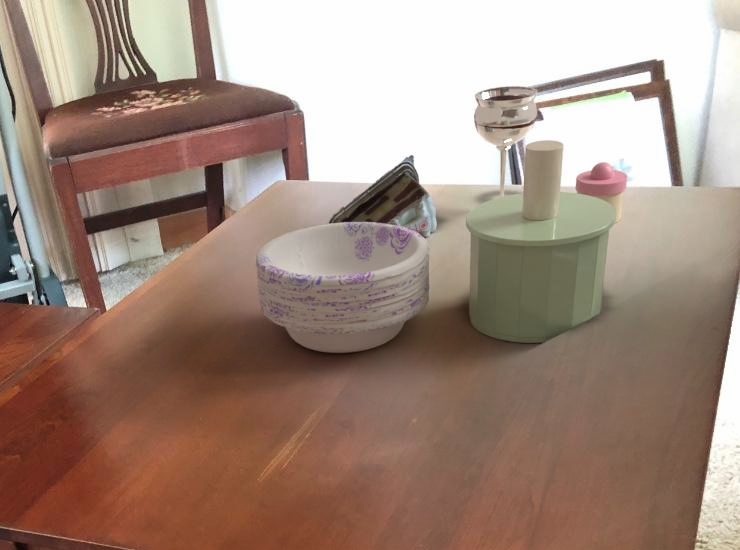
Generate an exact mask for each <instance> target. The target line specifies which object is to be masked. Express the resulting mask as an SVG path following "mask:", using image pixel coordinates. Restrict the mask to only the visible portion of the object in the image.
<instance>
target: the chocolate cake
mask: <svg viewBox="0 0 740 550" xmlns="http://www.w3.org/2000/svg"><path fill="white" fill-rule="evenodd" d="M414 162H415V157H414V155H413V154H411V155H409V156H406V157H405V158H404V159H403V160H402V161H401V162H399V163H398V164H397V165H395V166H394V167H393V168H391V169H390V170H388V171H387V172H385V173H384V174H383V175H382V176H381V177H380V178H378V179H377V180H376V181H375V182H373V183H372V184H371V185H370V186H368V187H367V188H366V189H365V190H364V191H362V192H361V193H360V194H358V195H357V196H356V197H354V198H353V199H352V201H350V202H349V203H348V204H346V205H345V206H342V207H341V208H340V209H338V210H337V211H336V212H335V213H333V214H332V216H331V217H330V218H329V220H328V222H327V224H331V223H343V222H375V223H385V224H390V225H396V226H400V227H404V228H408V229H410V230H413V231H415V232H417V233H419V234H420V235H422V236H423V237H424V238H428V237H430V236H431V232H432V233H433V232H435V231H436V229H437V227H438V222H437V215H436V213H437V212H436V207H435V203H434V199H433V198H432V196H431V194H430V193H429V192H428V191H427V190H426V189H425V188H424V187H423V185H421V183H420V178H419V173H418V171H417V169H416V167H415V163H414Z"/></svg>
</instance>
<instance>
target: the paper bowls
mask: <svg viewBox="0 0 740 550" xmlns="http://www.w3.org/2000/svg"><path fill="white" fill-rule="evenodd" d="M255 268H256V275H257V289H258V290H257V291H258V296H259V305H260V309H261V312H262V315H264V317H266V318H267V319H268V320H270V321H271V322H272V323H274V324H276V325H278V326H280V327H282V328H284V329H285V330H286V331H287V333H288V335H289V336H290V338H291V339H292V340H293V341H295V342H296V344H298V345H300V346H301V347H304V348H307V349H309V350H313V351H315V352H316V351H317V352H322V353H330V354H346V353H347V354H348V353H356V352H363V351H367V350H371V349H374V348H377V347H379V346H382V345H384V344H386V343H388V342H389V341H392V340H393V339H394V338H395V337H396V336H397V335H398V334H399V333H400V332H401V331H402V330H403V329H402V328H403V327H404V325H405V323H406V321H409V320H410V319H412V318H414V317H415V316H417V315H418V314H419V313H421V312H422V311H423V310H424V309H425V308H426V306H427V305H428V303H429V302H430V246H429V243H428V241H427V240H426V237H424V236H422V235H421V234H419V233H417V232H415V231H413V230H410V229H408V228H404V227H400V226H396V225H390V224H385V223H375V222H343V223H331V224H328V223H323V224H318V225H317V224H316V225H311V226H307V227H303V228H297V229H295V230H291V231H289V232H286V233H283V234H280V235H278V236H276V237H274V238H272V239H271V240H269V241H267V242H266V243H265V244H263V245H262V246H261V247H260V248H259V250H258V251H257V254H256V257H255Z"/></svg>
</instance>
